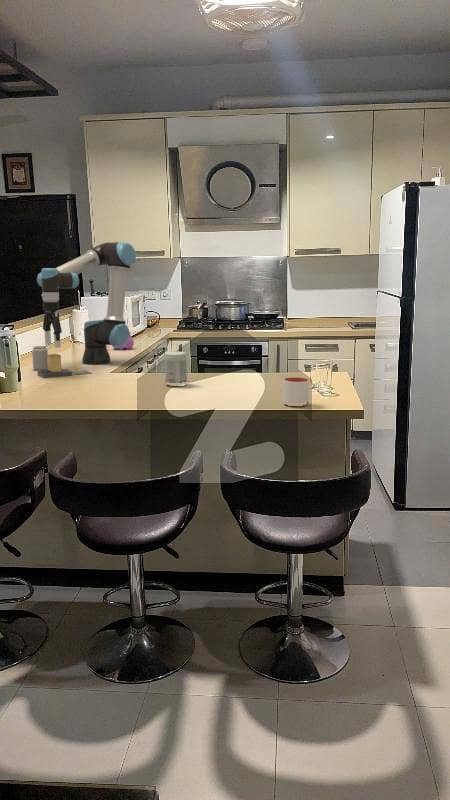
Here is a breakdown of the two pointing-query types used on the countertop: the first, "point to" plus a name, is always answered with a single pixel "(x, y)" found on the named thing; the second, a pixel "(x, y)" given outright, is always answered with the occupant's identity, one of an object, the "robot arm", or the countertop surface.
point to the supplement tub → (175, 367)
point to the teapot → (126, 343)
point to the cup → (295, 390)
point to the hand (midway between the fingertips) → (52, 346)
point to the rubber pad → (81, 372)
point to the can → (40, 358)
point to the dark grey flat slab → (57, 374)
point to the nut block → (54, 363)
